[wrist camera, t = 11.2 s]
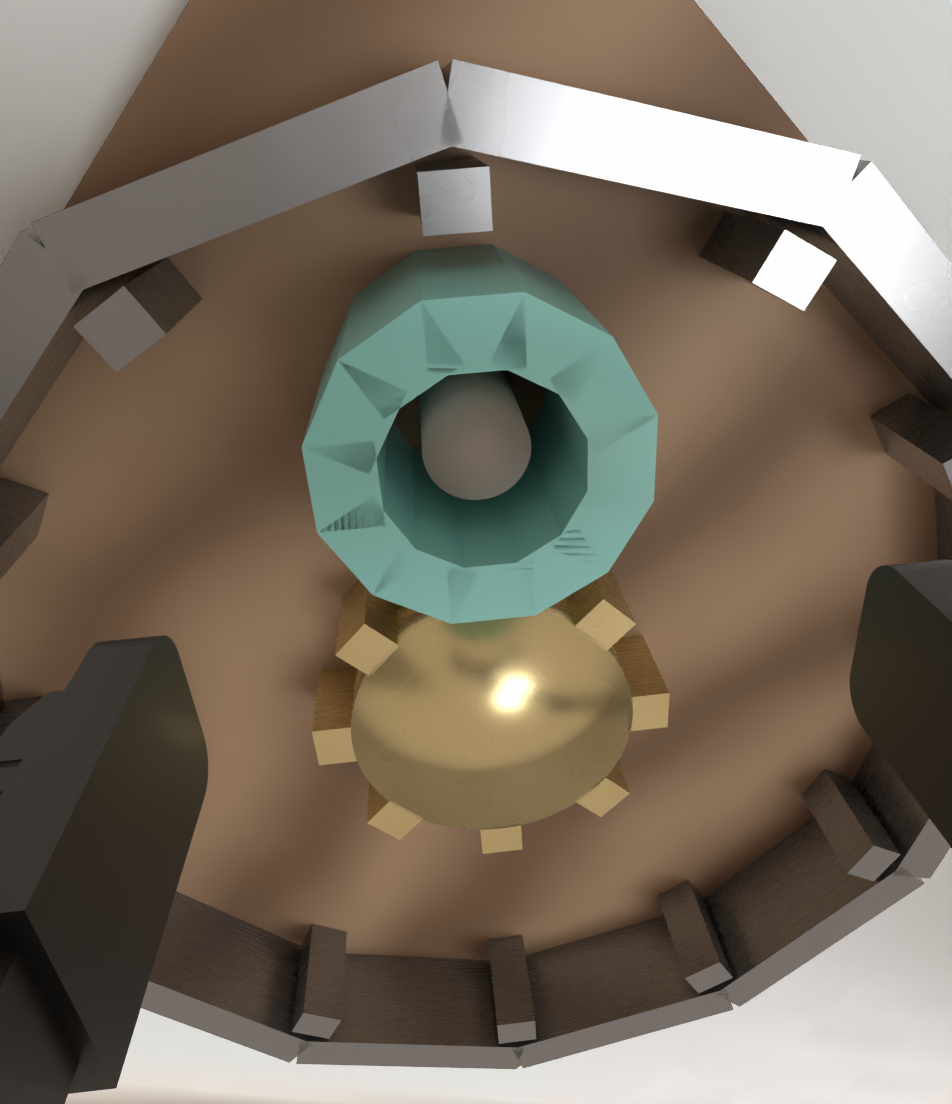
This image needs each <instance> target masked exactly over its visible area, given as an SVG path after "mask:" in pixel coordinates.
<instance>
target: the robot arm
mask: <svg viewBox="0 0 952 1104" xmlns="http://www.w3.org/2000/svg"><path fill="white" fill-rule="evenodd" d="M850 695H851V700H852V705H853V708H854V711H855V714H856V716H857V719H858V721H859V723H860V725H861V726H862V728H863V729H864V731H865V732H866V734H867V735H868V736H869V738H870V739H871V740H872V742H873V743H874V744H875V746H876V747H877V748H878V750H879V751H880V752H881V754H882V755H883V756H884V758H885V759H886V761H887V762H888V763H889V765H890V766H891V767H892V769H893V770H894V771H895V773H896V774H897V775H898V777H899V778H900V779H901V781H902V782H903V783H904V785H905V786H906V787H907V789H908V790H909V791H910V793H911V794H912V796H913V797H914V798H915V800H916V801H917V802H918V804H919V805H920V806H921V808H922V809H923V810H924V812H925V813H926V814H927V816H928V817H929V818H930V820H931V821H932V822H933V824H934V825H935V826H936V828H937V829H938V831H939V832H940V833H941V835H942V836H943V837H944V839H945V840H946V841H947V843H948V844H949V845H950V847H951V848H952V560H947V559H943V560H933V561H923V562H913V563H903V564H893V565H883V566H879V567H877V568H876V569H875V570H874V571H873V572H872V574H871V575H870V577H869V580H868V583H867V587H866V592H865V597H864V602H863V608H862V613H861V618H860V624H859V629H858V634H857V640H856V645H855V650H854V655H853V661H852V666H851V671H850ZM207 782H208V754H207V747H206V742H205V738H204V734H203V731H202V728H201V724H200V721H199V718H198V715H197V711H196V708H195V705H194V702H193V698H192V695H191V692H190V688H189V685H188V682H187V679H186V675H185V672H184V669H183V666H182V662H181V659H180V656H179V653H178V650H177V647H176V645H175V643H174V642H173V640H172V639H171V638H170V637H168V636H166V635H161V636H151V637H141V638H131V639H121V640H111V641H101V642H97V643H95V644H94V645H93V646H92V647H91V648H90V649H89V651H88V652H87V654H86V656H85V657H84V659H83V661H82V662H81V664H80V666H79V667H78V669H77V671H76V672H75V674H74V676H73V677H72V679H71V680H70V682H69V684H68V685H67V687H66V689H65V690H61V691H51V692H48V693H47V694H46V695H44V696H43V697H42V698H41V699H40V700H38V701H37V702H36V703H35V704H34V705H32V706H31V707H30V708H29V709H28V710H26V711H25V712H24V713H23V714H22V715H20V716H19V717H18V718H17V719H16V720H14V721H13V722H12V723H11V724H10V725H8V727H7V728H6V730H5V731H4V733H3V734H2V736H1V737H0V1104H65V1101H66V1098H67V1095H68V1094H70V1093H78V1092H87V1091H96V1090H104V1089H113V1088H116V1087H117V1084H118V1080H119V1077H120V1074H121V1070H122V1067H123V1064H124V1061H125V1057H126V1054H127V1051H128V1047H129V1044H130V1041H131V1038H132V1034H133V1031H134V1028H135V1025H136V1021H137V1018H138V1015H139V1011H140V1008H141V1005H142V1002H143V998H144V995H145V992H146V988H147V985H148V982H149V979H150V975H151V972H152V969H153V965H154V962H155V959H156V956H157V952H158V949H159V946H160V942H161V939H162V936H163V933H164V929H165V926H166V923H167V919H168V916H169V913H170V910H171V906H172V903H173V900H174V896H175V893H176V890H177V887H178V883H179V880H180V877H181V873H182V870H183V867H184V864H185V860H186V857H187V854H188V850H189V847H190V844H191V841H192V837H193V834H194V831H195V827H196V824H197V821H198V818H199V814H200V811H201V808H202V804H203V801H204V798H205V794H206V789H207Z"/></svg>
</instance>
